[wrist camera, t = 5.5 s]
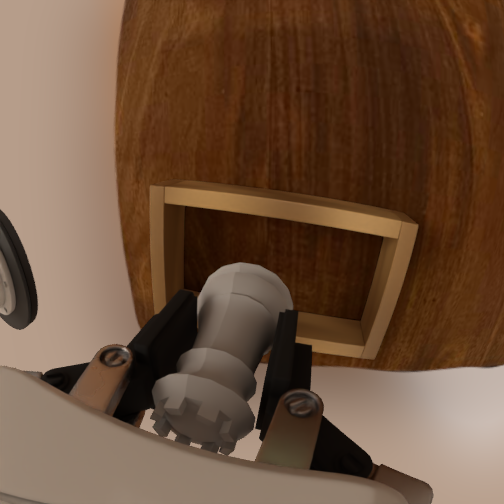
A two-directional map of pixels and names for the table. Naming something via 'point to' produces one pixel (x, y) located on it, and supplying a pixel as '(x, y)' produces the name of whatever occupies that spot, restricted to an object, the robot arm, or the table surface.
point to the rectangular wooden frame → (295, 209)
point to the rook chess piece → (222, 359)
